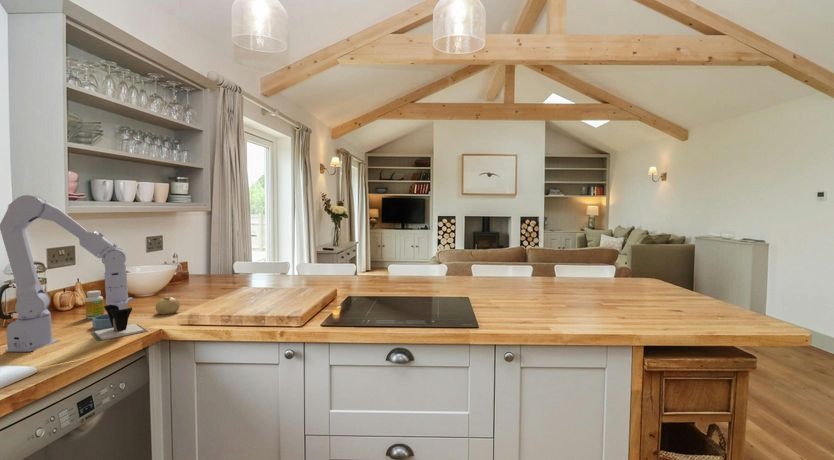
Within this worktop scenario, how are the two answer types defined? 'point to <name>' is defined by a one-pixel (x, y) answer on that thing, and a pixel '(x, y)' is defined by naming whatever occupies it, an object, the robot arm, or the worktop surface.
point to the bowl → (101, 322)
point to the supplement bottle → (94, 304)
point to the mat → (115, 337)
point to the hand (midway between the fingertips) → (119, 328)
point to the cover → (115, 333)
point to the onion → (167, 305)
